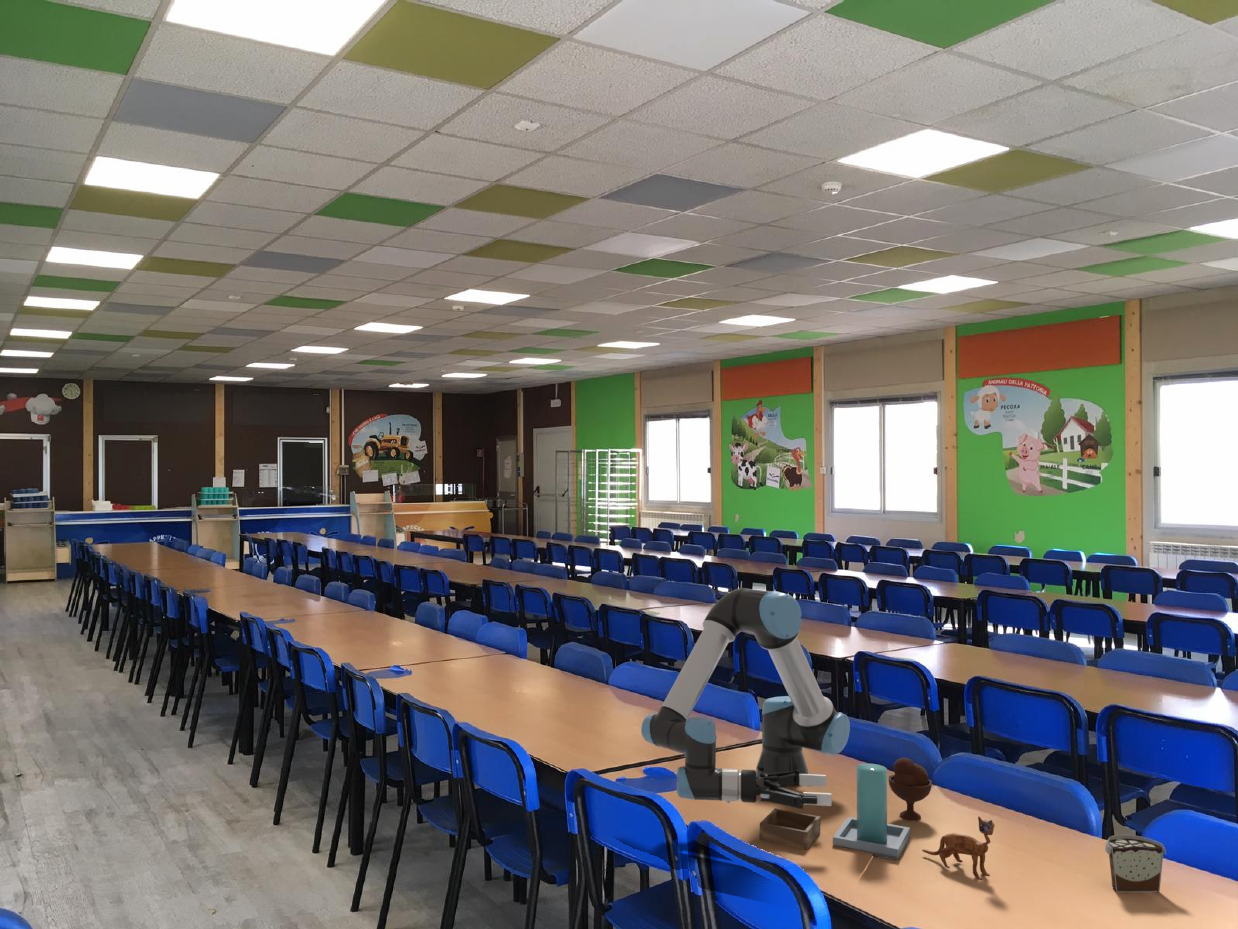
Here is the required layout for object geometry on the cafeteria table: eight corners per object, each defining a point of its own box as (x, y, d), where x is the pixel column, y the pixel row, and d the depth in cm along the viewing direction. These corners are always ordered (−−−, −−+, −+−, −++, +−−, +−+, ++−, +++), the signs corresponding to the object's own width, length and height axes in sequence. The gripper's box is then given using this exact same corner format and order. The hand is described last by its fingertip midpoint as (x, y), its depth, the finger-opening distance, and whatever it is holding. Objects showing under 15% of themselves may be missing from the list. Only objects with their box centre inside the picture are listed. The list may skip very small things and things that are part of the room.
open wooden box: (774, 826, 229) (774, 808, 229) (820, 835, 223) (820, 816, 223) (759, 842, 218) (759, 823, 218) (807, 851, 213) (807, 832, 213)
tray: (848, 826, 229) (848, 816, 229) (910, 838, 222) (910, 827, 222) (832, 847, 215) (832, 837, 215) (898, 860, 208) (898, 849, 208)
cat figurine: (914, 859, 209) (914, 800, 210) (929, 852, 214) (929, 794, 214) (987, 885, 196) (987, 823, 196) (1001, 877, 200) (1001, 816, 200)
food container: (1148, 879, 199) (1148, 833, 199) (1166, 892, 193) (1166, 844, 193) (1093, 880, 199) (1093, 834, 199) (1109, 892, 193) (1109, 845, 193)
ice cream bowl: (904, 827, 229) (904, 767, 229) (880, 811, 240) (880, 754, 240) (941, 823, 232) (941, 763, 232) (915, 807, 242) (915, 751, 243)
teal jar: (855, 833, 222) (854, 763, 223) (884, 834, 222) (884, 764, 222) (858, 844, 215) (858, 772, 216) (889, 846, 215) (889, 773, 215)
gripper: (739, 784, 235) (823, 788, 232) (740, 819, 210) (833, 825, 208) (740, 755, 235) (823, 759, 233) (740, 787, 211) (834, 791, 208)
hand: (828, 790), depth 220 cm, fingers open, 13 cm apart
